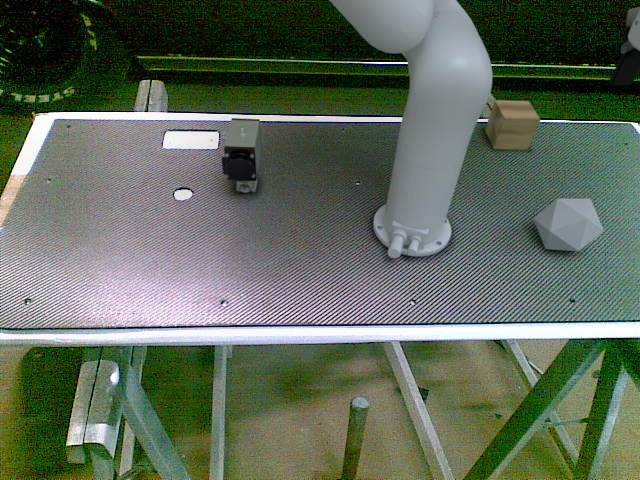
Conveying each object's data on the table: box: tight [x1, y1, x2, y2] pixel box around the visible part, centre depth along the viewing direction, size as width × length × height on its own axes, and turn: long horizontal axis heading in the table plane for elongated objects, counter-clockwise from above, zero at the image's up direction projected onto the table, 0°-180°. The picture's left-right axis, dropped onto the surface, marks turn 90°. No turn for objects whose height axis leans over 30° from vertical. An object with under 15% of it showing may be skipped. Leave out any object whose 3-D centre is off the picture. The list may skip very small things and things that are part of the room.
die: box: [533, 197, 605, 252], centre depth 74 cm, size 8×9×10 cm
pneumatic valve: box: [220, 117, 262, 194], centre depth 80 cm, size 6×12×12 cm, turn 0°
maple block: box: [484, 99, 541, 151], centre depth 96 cm, size 7×7×7 cm
